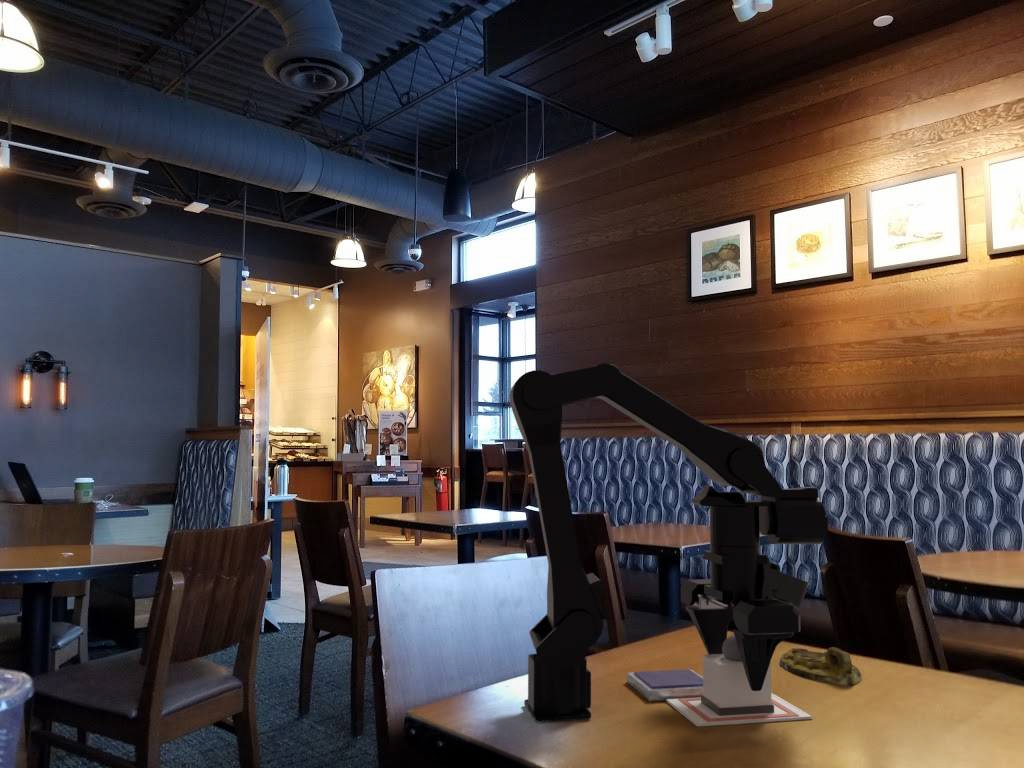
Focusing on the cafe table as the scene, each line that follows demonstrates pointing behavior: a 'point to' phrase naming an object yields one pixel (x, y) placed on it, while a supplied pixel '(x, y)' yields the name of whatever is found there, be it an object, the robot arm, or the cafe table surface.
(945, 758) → the cafe table surface
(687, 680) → the ink pad
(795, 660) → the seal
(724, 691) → the stamp
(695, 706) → the sheet
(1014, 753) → the cafe table surface
